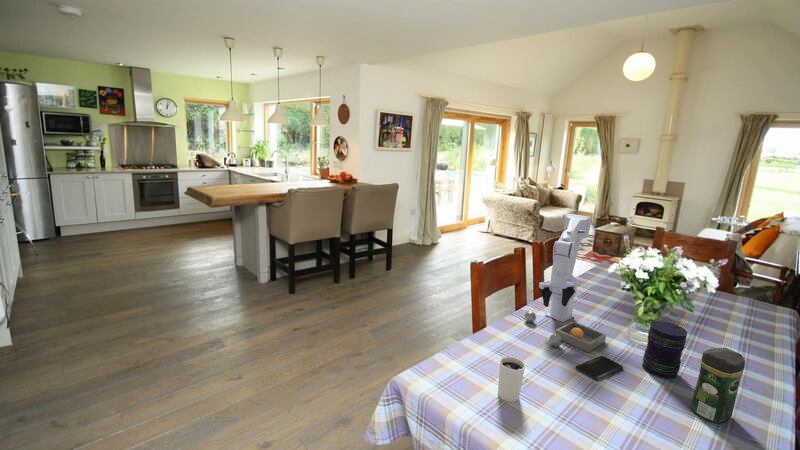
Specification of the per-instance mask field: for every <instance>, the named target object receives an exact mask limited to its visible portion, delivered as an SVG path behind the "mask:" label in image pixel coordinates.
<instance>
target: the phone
mask: <svg viewBox="0 0 800 450" xmlns="http://www.w3.org/2000/svg"><path fill="white" fill-rule="evenodd" d="M575 370H576V371H577V372H579V373H580V374H583V375H585V376H586V377H588V378H589V379H591V380H592V381H596V382H599V381H602V380H604V379H606V378H608V377H610V376H613V375H615V374H618V373H619V372H622V371H624V366H623V365H621V364H620V363H618V362H616V361H614V360H612V359H610V358H608V357H606V356H604V355H600V356H597V357H595V358H592V359H589V360H587V361H585V362H582V363H580V364H576V365H575Z"/></svg>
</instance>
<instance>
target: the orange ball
mask: <svg viewBox="0 0 800 450" xmlns="http://www.w3.org/2000/svg"><path fill="white" fill-rule="evenodd" d="M570 335H572V336H574V337H576V338H579V339H582V338H583V335H584V334H583V331H582V330H581V329H580V328H573V329H572V330H571V332H570Z"/></svg>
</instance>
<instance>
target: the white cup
mask: <svg viewBox="0 0 800 450" xmlns="http://www.w3.org/2000/svg"><path fill="white" fill-rule="evenodd" d="M525 369H526V365H525V362H523V360H521V359H519V358H517V357H514V356H503V357H501V358H500V361H499V370H498V371H499V372H498V383H497V384H498V385H497V386H498V387H497V395H498V397H499V398H500V399H502V400H503V401H505V402H509V403H514V402H515V403H516V402H517V401H518V400H519V399H520V395H521V389H522V383H523V378H524V374H525Z"/></svg>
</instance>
